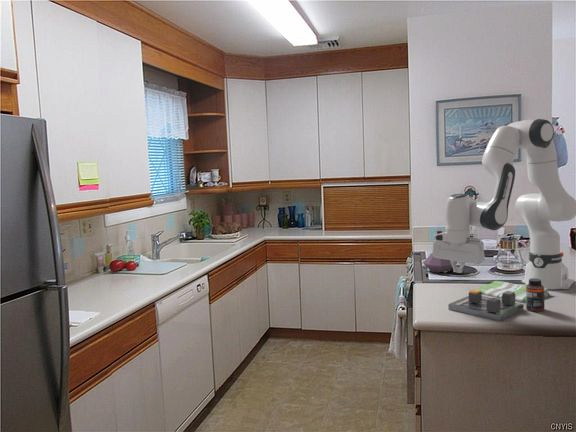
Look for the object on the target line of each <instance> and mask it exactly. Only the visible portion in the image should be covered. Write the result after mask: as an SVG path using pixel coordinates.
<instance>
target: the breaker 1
mask: <svg viewBox="0 0 576 432" xmlns="http://www.w3.org/2000/svg"><path fill="white" fill-rule="evenodd" d="M489 298H490V299H488V300H487V311H490V312H494V313H495V312H497V311H499V310H501V301H500V300H501V298H497V297H489Z"/></svg>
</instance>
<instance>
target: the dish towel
mask: <svg viewBox="0 0 576 432" xmlns="http://www.w3.org/2000/svg"><path fill="white" fill-rule="evenodd" d="M526 286H527V285H520V284H516V283H512V282H506V281H501V280H494V281H492V282H491V283H489V284H487V285H483V286H478V287H477V288H476V289H475V290H481V292H482V295H484V296H487V297H488V296H489V297H491V298H498V299H502V294H503V293H504V292H506V291H511V292H515V303H521V304H526ZM547 296H549V289H548V288H544V298H546V297H547Z"/></svg>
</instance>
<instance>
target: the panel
mask: <svg viewBox="0 0 576 432" xmlns="http://www.w3.org/2000/svg"><path fill="white" fill-rule="evenodd" d="M490 298H491V297H490V296H489V297H488V296H485V295H484V296H483V295H482V301H480V302H478V303H472V302H469V295H468V296H465V297H462V298H460V299H458V300H455V301H452V302H450V303H448V304H447V305H448V307H447V308H448V310H449V311H454V312H459V313H463V314H466V315H472V316H476V317H480V318H484V319H488V320H493V321H498V322H502V321H504V320H506V319H508V318H510V317H512V316H514V315H516V314H518V313H520V312H522V311H524V306H525V305H524V304H525V303H520V302H515V303H514V304H512V305H506V304H502V299H500V301H501V310H499V311H497V312H495V313H494V312H490V311H487V300H488V299H490Z"/></svg>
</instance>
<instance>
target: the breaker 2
mask: <svg viewBox="0 0 576 432" xmlns="http://www.w3.org/2000/svg"><path fill="white" fill-rule="evenodd" d="M501 300H502V304H506V305H512V304H514V303H516V301H515V292H511V291H506V292H504V293H503V294H502V298H501Z"/></svg>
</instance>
